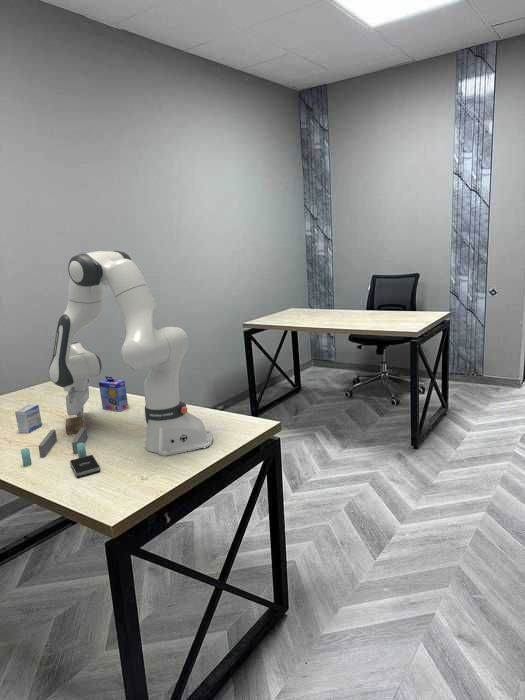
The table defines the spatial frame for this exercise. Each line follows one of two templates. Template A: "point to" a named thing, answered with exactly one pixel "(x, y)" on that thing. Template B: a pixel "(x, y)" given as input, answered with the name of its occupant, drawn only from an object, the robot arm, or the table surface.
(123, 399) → the ink cartridge box
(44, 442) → the channel walls
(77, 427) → the walnut block
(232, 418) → the table surface
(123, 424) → the table surface
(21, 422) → the medicine box
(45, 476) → the table surface
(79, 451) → the posts
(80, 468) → the external hard drive
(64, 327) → the robot arm
